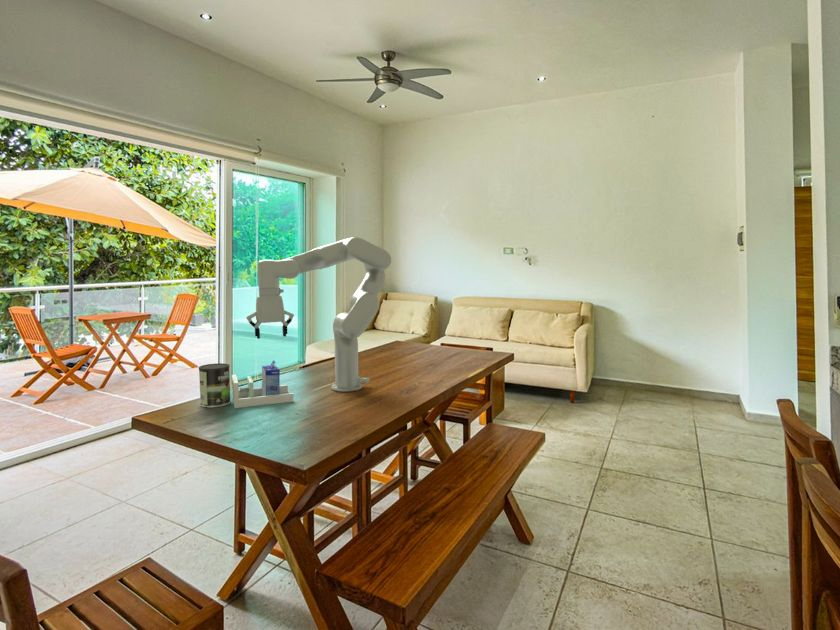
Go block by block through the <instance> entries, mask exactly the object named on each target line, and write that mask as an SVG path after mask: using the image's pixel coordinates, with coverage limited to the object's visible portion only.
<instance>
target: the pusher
mask: <svg viewBox="0 0 840 630" xmlns="http://www.w3.org/2000/svg"><path fill="white" fill-rule="evenodd" d="M246 377H247V379H246V380H247V387H241V388H239V389H240V392H246V391H248V397H247V398H249V397H255V396H254V393H253V388H254V381H253V378H252V376H251V375H247V376H246Z"/></svg>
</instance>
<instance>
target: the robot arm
mask: <svg viewBox="0 0 840 630" xmlns="http://www.w3.org/2000/svg"><path fill="white" fill-rule="evenodd" d="M353 259H354V260H357V261H359V262H362V263H363V265H364V269H365V276H364V278H363V280H362V281H361V283H360V285H359V286H358V287H357V289H356V290H355V291H354V293H353V295H351V297H350V300H349V307H350V310H349V312H347V311H345V312H340V313H337V315H336V316H335V317H334V320H333V323H332V324H333V325H332V331H333V332H332V333H333V338H334V383H333V384H332V385H331V390H333V391H335V392H341V393H342V392H343V393H345V392H346V393H347V392H354V391H355V392H356V391H359V390H361V389H363V383H370V377H360V376H359V341H358V340H359V339H358V338H359V337H361V336H362V335H363V334H364V332H365V331H366V330H367V328H368V327H369V325H370V324H371V322H372V320H373V319H374V317H375V316H376V315H377V313H378V311H379V308H380V301H379V297H378V296H379V294H380V293H381V291H382V289H383V287H384V285H385V283H386V273H385V271H386V270H387V269H389V267H390V266H391V264H392V257H391V254H390V253H389V252H388V251H387V250H386V249H384V248H382V247H380V246H377V245H375V244H374V243H371V242H369V241H367V240H366V239H363V238H361V237H358V236H353V237H347V238H344V239H340V240H338V241H335V242H331V243H328V244H325V245H322V246H319V247H316V248H313V249H311V250H309V251H305V252H303V253H299V254H297V255H293V256H291V257H287V258H284V259H281V260H275V259H261V260H259V261H258V262H257V281H258V296H256V300H255V311H254V312H253V313H251V314H249V315H247V316H246V320H247V321H248V323H249V324H250V325H251V326H252V327H253V328H254V336H255V337H256V339H258V340H259V339H261V331H260V328H259V326H260V325H261V324H266V323H267V324H268V323H269V324H270V323H282V326H281V327H282V336H283V337H285V338H286V337H287V335H288V326H289V325H290V323H291V322H292V320H293V318H294V316H295V314H293V313H291V312H290V311H287V310H285V307H284V306H285V305H284V301H283V296H282V295H281V294H282V293H284V292H285V291H284V289H283V288H281V287H280V279H286V280H291V279H295V278H297V277H299V275H301V274H303V273H304V274H305V273H307V272H310V271H311V272H312V271H316V270H323V269H327V268H330V267H333V266H335V265H338V264H341V263H344V262H347V261H350V260H353ZM286 315H287V316H288V319H285V318H286ZM254 318H255V319H256V322H254V321H253V320H252V319H254Z"/></svg>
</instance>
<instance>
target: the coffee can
mask: <svg viewBox="0 0 840 630" xmlns="http://www.w3.org/2000/svg"><path fill="white" fill-rule="evenodd" d="M198 372H199V373H198V374H199V375H198V376H199V379H198V380H199V392H200V393H199V397H200V405H199V406H200V407H202V408H206V407H207V409H208V408H209V409H210V408H220V407H225V406H228V405H230V404H231V383H230V381H231V379H230V378H231V377H230V364H228V363H222V362H221V363H220V362H219V363H207V364H203V365H200V366H198Z"/></svg>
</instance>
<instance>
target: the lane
mask: <svg viewBox="0 0 840 630" xmlns="http://www.w3.org/2000/svg"><path fill="white" fill-rule="evenodd" d="M231 391H232V396H231V397H232V402H233V406H234V407H233V408H234V409H238V408H239V409H240V408H249V407H256V406H266V405H274V404H275V405H276V404H283V403H291V402H294V392H289V387H288V384H282V385H280V394H277V395H268V396H262V386H261V387H253V393H254V397H249V398H248V391H246V392H240V388H239V381H238V377H237V374H231Z"/></svg>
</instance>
